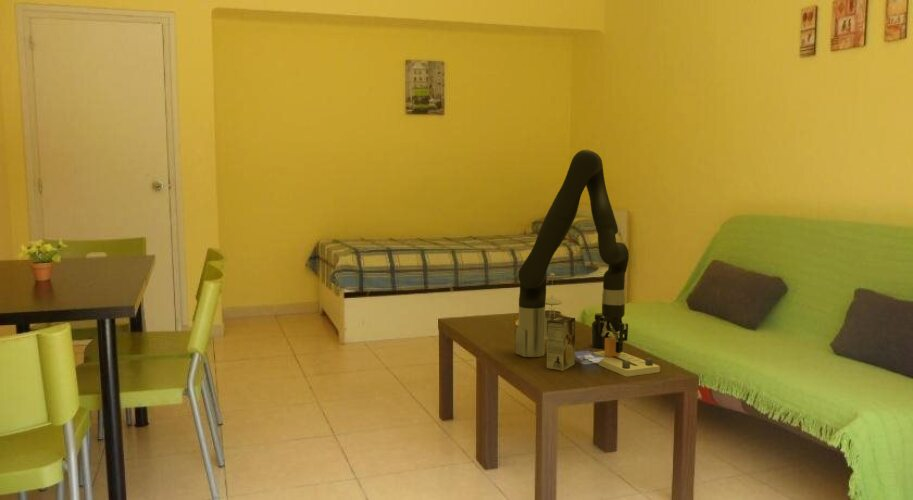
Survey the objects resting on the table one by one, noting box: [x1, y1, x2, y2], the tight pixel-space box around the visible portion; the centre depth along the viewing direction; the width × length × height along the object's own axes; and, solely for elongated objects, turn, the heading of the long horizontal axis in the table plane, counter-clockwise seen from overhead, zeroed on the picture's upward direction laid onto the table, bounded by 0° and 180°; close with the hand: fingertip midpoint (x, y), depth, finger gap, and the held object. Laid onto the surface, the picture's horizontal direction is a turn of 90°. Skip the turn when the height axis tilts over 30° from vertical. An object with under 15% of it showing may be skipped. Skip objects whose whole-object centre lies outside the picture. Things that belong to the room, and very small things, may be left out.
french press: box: [545, 272, 563, 340], centre depth 297 cm, size 10×12×25 cm
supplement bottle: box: [590, 312, 611, 349], centre depth 284 cm, size 7×7×12 cm
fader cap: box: [604, 336, 620, 357], centre depth 262 cm, size 4×3×6 cm, turn 114°
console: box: [593, 350, 661, 378], centre depth 258 cm, size 13×24×4 cm, turn 24°
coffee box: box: [546, 315, 576, 372], centre depth 256 cm, size 9×6×16 cm
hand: (612, 350), depth 262 cm, fingers open, 7 cm apart
